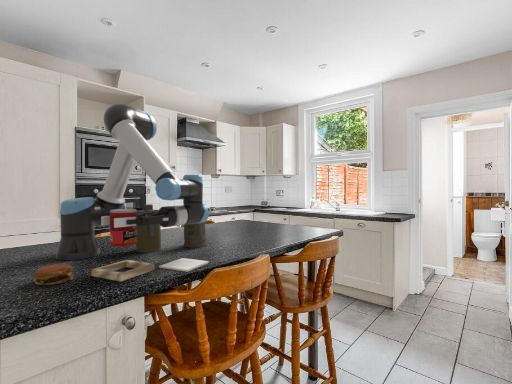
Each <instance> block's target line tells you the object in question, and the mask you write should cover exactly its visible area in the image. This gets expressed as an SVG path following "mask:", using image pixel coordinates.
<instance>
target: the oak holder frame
mask: <svg viewBox="0 0 512 384" xmlns="http://www.w3.org/2000/svg"><path fill="white" fill-rule="evenodd" d="M124 268H128V269H129V268H131V269H129V270H126V271H122V272H121V271H119V270H121V269H124ZM152 271H155V263H151V262H146V261H137V260H130V259H129V260H128V259H125V260H122V261H118V262H114V263H110V264H107V265H102V266H100V267H96V268H91V277H96V278H101V279H106V280H112V281H115V282H123V281H127V280H130V279H132V278H135V277H137V276H140V275H143V274H147V273H149V272H152Z"/></svg>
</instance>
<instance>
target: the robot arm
mask: <svg viewBox="0 0 512 384" xmlns="http://www.w3.org/2000/svg"><path fill="white" fill-rule="evenodd" d="M103 124H104V126H105V128H106V130H107V132H108V133H109V134H110V135H111V136H112V138H113V139H114V140H118V144H117V147H116V150H115V154H114V157H113V159H112V161H111V165H110V168H109V171H108V174H107V176H106V180H105V182H104V186H103V188H102V190H100V191H99V192H97V193H96V196H95V198H94V197H90V196H87V197H85V196H84V197H76V198H71V199H65V200H63V201H62V202H61V203H60V207H59V208H60V210H59V214H60V215H59V217H60V239H59V241H58V245H57V248H56V251H55V259H56V260H60V261H75V260H81V259H88V258H93V257H97V256H99V255H100V252H101V249H100V246H99V244H98V243H99V242H98V241H97V238H96V236H95V235H96V234H95V233H96V232H95V228H100V227H105V226H106V227H107V226H109V227H110V210H114V209H127V204H126V200H125V197H124V195H125V191H126V189H127V187H128V185H129V184H128V183H129V181H130V178H131V175H132V172H133V169H134V168H135V164H136V163H137V164H138V165H139V166H140V167H141V169H142V170H143V171H144V172H145V173H146V175H147V176H148V177H149V179H150V180H151V181H152V182H153V183H154V184H155V188H154V189H155V192H156V193H155V195H156V196H157V197H158V198H159V199H161V200H163V201H177V200H182V203H183V205H168V206H161V207H160V208H159V209H158V210H159V211H158V212H151V213H141V214H137V219H136V217H126V218H114V228H117V227H127V226H136V224H137V225H138V226H140V225H142V226H145V225H152V224H160V225H161V227H162V228H170V227H171V228H173V227H177V228H180V227H181V226H184V225H188V224H198V223H202V222H205V223H206V221H208V219H209V217H210V211H209V208H208V206H207V205H206V204H205V205H203V204H204V203H203V201H204V200H203V198H204V194H203V192H204V190H203V189H204V187H203V186H204V183H203V175H200V174H184V175H183V178H178V176H177V175H176V174H175V173H174V171H172V170H171V168H170V167H169V166H168V164H166V162H165V161H164V160H163V159H162V158H161V156H160V155H159V154H158V153H157V151H156V150H155V149H154V148H153V147H152V145H151V144H150V143H149V142H148V141H149V140H152V139H153V138H154V137H155V135H156V134H157V128H158V127H157V126H158V125H157V122H156V120H155V117H154V116H153V115H151V114H150V113H148V112H146V111H144V110H141V109H139V108H136V107H135V108H134V107H132V106H131V105H130V106H129V105H127V104H125V103H124V104H123V103H115V104H112V105H110V106H109V107H107V109H106V110H105V112H104V114H103Z"/></svg>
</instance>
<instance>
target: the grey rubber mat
mask: <svg viewBox="0 0 512 384" xmlns="http://www.w3.org/2000/svg"><path fill="white" fill-rule="evenodd" d="M207 264H209V260H201V259H200V260H199V259H193V258H184V257H181V258H178V259H176V260H173V261H169V262H167V263H163V264H160V265H158V268H160V269H166V270H173V271H179V272H186V273H187V272H190V271H193V270H195V269H197V268H200V267H203V266H204V265H207Z"/></svg>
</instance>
